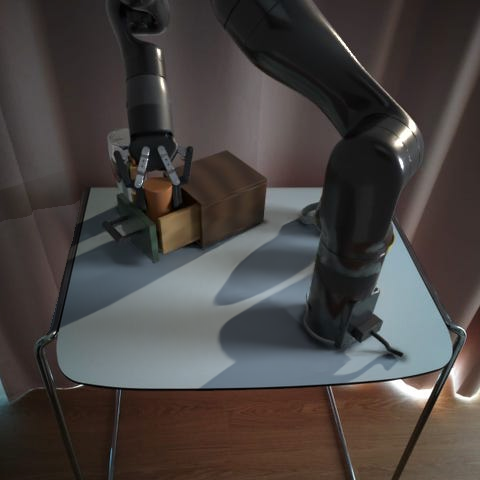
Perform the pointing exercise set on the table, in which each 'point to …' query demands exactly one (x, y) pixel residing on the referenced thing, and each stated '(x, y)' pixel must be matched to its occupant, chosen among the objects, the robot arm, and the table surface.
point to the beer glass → (121, 142)
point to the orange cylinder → (158, 198)
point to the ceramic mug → (313, 219)
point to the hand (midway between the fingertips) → (160, 209)
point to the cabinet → (224, 195)
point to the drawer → (144, 230)
